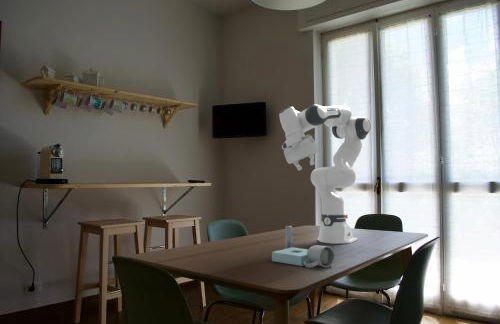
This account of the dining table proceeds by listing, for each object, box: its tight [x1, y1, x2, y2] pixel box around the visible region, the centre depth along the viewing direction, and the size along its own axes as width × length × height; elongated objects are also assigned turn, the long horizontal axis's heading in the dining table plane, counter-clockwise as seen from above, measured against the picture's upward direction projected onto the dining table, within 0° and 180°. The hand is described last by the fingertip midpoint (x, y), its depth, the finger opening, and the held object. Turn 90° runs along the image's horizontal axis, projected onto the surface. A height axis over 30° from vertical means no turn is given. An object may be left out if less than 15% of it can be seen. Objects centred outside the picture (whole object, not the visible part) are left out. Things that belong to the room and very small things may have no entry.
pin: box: [284, 225, 294, 249], centre depth 168 cm, size 3×3×12 cm
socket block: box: [271, 246, 311, 267], centre depth 154 cm, size 14×14×4 cm
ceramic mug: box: [304, 244, 335, 269], centre depth 144 cm, size 11×8×8 cm
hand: (306, 167), depth 182 cm, fingers open, 8 cm apart
